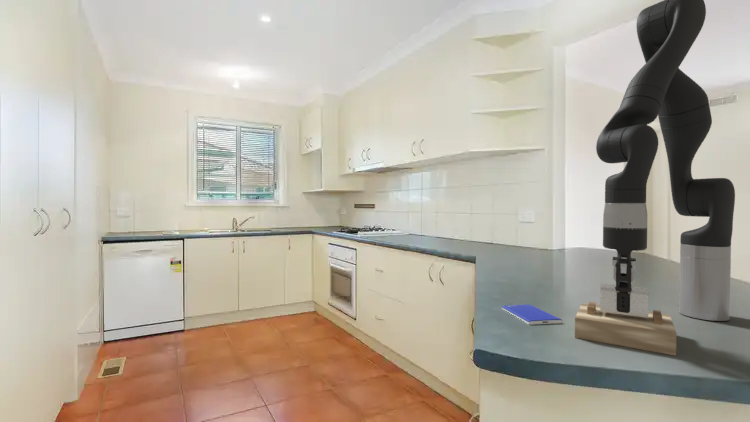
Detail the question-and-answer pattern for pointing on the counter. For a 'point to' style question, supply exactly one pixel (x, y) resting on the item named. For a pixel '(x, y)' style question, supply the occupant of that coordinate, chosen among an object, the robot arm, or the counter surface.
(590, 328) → the drive stand
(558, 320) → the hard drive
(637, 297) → the panel
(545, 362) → the counter surface
